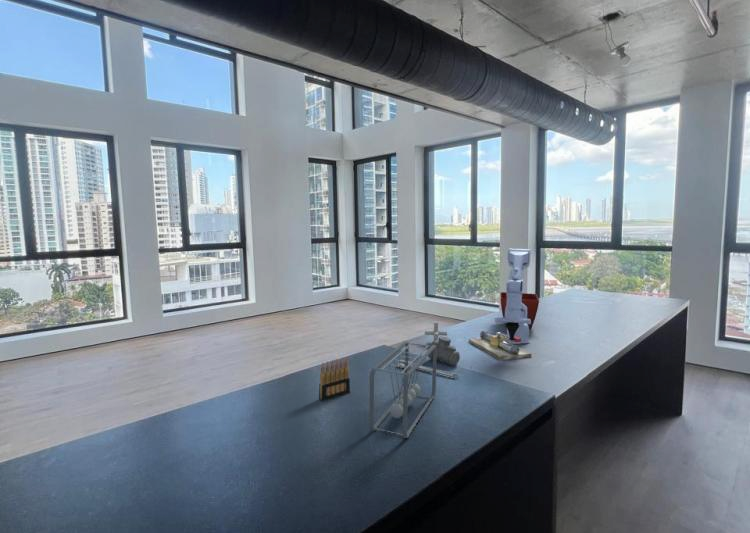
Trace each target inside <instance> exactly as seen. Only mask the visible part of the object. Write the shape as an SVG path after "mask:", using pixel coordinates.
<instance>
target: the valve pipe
mask: <svg viewBox="0 0 750 533" xmlns="http://www.w3.org/2000/svg"><path fill="white" fill-rule="evenodd" d="M479 338H482V339H486V340H488V341H489V342H491V345H493V346H495V347H497V348H503V349H505V350H506V351H508V352H510V353H511V354H512V355H516V354H518V353H519V348H520V347H519V346H517V345H515V346H512V345H510V344H508V343H507V338H506V337H503V336H500V335H496V334H495V335H494V334H493V335H492V334H490V333H488V331H486V330H482V331H481V332H480V333H479ZM518 347H519V348H518Z"/></svg>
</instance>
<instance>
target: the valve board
mask: <svg viewBox="0 0 750 533" xmlns="http://www.w3.org/2000/svg"><path fill="white" fill-rule="evenodd" d="M468 343H470V344H471V345H473V346H475V347H477V348H479V349H481V351H484V352H485V353H487V354H489V355H491V356H492V357H494V358H495V359H498V360H499V361H503V360H515V359H526V358H532V353H531V352H529V351H527V350H525V349H523V348H521V347H519V346H517V347H518V348H519V353H518V354H516V355H512V354H511V353H510V352H508V351H506V350H505V349H503V348H497V347H495V346H493V345H491V342H489V341H488V340H486V339H482V338H481V337H476V338H468ZM507 343H508V344H510V345H512V346H516V344H511V343H509V342H507Z"/></svg>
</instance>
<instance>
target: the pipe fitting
mask: <svg viewBox="0 0 750 533" xmlns="http://www.w3.org/2000/svg"><path fill="white" fill-rule="evenodd" d="M451 343H452V338H449V337H448V336H444V335H439V336H438V340H435V341H434V340H433V341H432V342H430V344H429V346H432V345H436V347H437V360H439V361H441V362H443V363H445V364H447V365H449V366H451V367H455V366H456V365H458V363H459V362H460V358H461V354H460V353H459V351H457V349H456V347H455V346H453V345H451ZM429 349H430V347H427V351H428V350H429ZM427 357H428V358H429V359H430V360H432V361H433V351H432V352H431V353H430V354H429V355H428V356H427ZM437 360H436V361H437Z"/></svg>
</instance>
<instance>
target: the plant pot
mask: <svg viewBox="0 0 750 533" xmlns="http://www.w3.org/2000/svg"><path fill="white" fill-rule="evenodd" d="M499 294H500V307H501V313H502V317H505V309H506V305H507V292H505V291H504V292H503V291H502V292H500V293H499ZM522 303H523V304H524V305H525V306H526V307H527V319H531V324H527V325H528V327H529V330H532V327H533V325H534V322H535V321H536V317H537V313H538V309H539V303H540V299H539V297H538V295H537V294H536V293H527V292H526V293H525V292H523V293H522ZM521 310H523V309H521ZM504 327H505V328H506V329H507V326H506V324H505V323H504Z"/></svg>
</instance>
